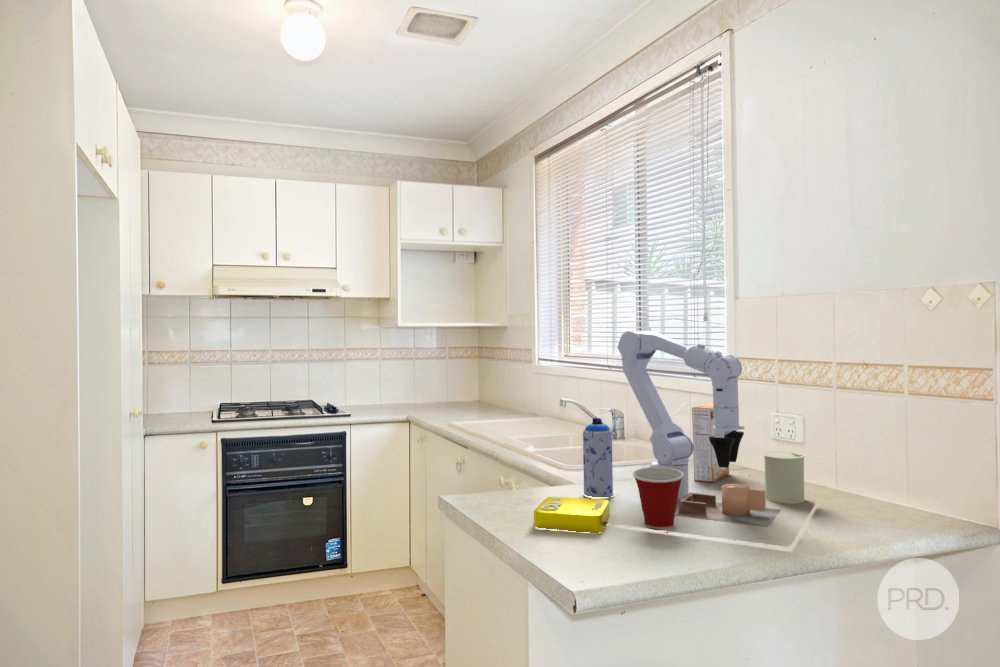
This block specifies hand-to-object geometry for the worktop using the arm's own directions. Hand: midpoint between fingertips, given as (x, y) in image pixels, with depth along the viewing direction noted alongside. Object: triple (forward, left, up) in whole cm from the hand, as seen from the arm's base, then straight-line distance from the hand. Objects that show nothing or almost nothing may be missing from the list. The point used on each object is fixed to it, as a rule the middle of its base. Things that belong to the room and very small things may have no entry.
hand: (727, 464), depth 168 cm
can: (+11, +12, -11) cm, 19 cm away
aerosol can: (-32, -2, -11) cm, 34 cm away
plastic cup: (-9, -23, -11) cm, 27 cm away
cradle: (+2, -7, -10) cm, 13 cm away
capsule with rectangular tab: (+5, -7, -10) cm, 13 cm away
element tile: (-27, -28, -11) cm, 41 cm away
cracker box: (-12, +33, -11) cm, 37 cm away
